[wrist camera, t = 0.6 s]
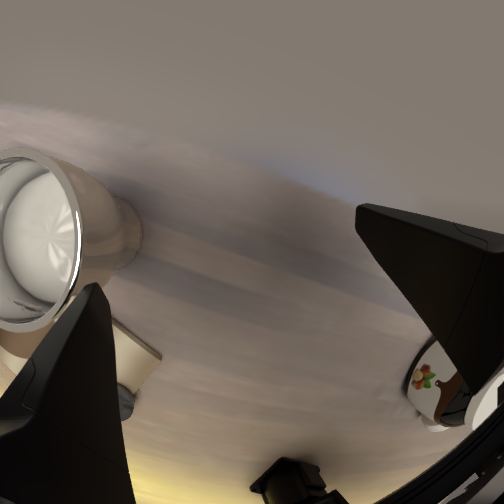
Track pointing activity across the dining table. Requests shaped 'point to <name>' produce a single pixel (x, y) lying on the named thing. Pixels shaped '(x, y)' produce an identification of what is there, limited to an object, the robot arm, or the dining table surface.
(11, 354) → the board
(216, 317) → the dining table surface
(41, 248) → the beer glass
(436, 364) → the spread jar
